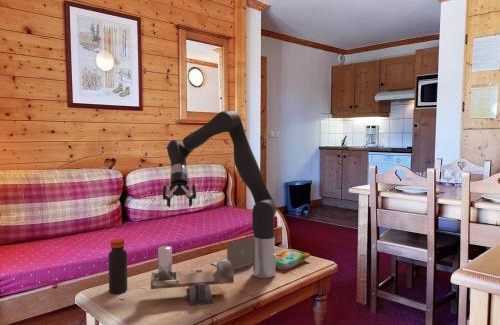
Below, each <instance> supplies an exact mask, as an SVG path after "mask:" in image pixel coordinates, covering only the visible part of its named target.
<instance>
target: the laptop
mask: <svg viewBox="0 0 500 325" xmlns="http://www.w3.org/2000/svg"><path fill="white" fill-rule="evenodd" d="M253 244H254V236H253V237H249V238H248V237H247V238H245V239H240V240H236V241H232V242H229V243H227V244H226V245H227V246H226V249H227V251H226V254H227V255H226V258H225V259H220V260H219V261H228V260H229V261H230V263H231V265H232V267H233V269H234V270H235V269H239V268H242V267H245V266H249V264H250V265H253V264H252V263H253ZM217 261H218V260H217ZM217 261H213V262H211V263H210V264H211V265H212V266H213V265H214V266H215V267H217Z"/></svg>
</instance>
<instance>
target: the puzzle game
mask: <svg viewBox="0 0 500 325" xmlns="http://www.w3.org/2000/svg"><path fill="white" fill-rule="evenodd" d="M274 254H275V255H276V268H275V269H278V270H281V271H287V270H289V268H290V269H291V268H294V267H296V266H299V265H300V264H303V263H304V262H305V261H306V260H307V259H308V258H310V257H311V254H310V253H309V252H304V251H301V250H296V249H292V248H289V249H286V250H284V251H281V252H278V253H274Z"/></svg>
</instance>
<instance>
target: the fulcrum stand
mask: <svg viewBox="0 0 500 325" xmlns="http://www.w3.org/2000/svg"><path fill="white" fill-rule="evenodd" d="M196 272H203V270H202V269H196V270H195V273H196ZM188 296H189V301H190V302H189V304H190V306H191V307H192V306H203V305H213V304H214V299H213V295H212V292H211V288H210V285H205V283H198V286H188Z"/></svg>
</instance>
